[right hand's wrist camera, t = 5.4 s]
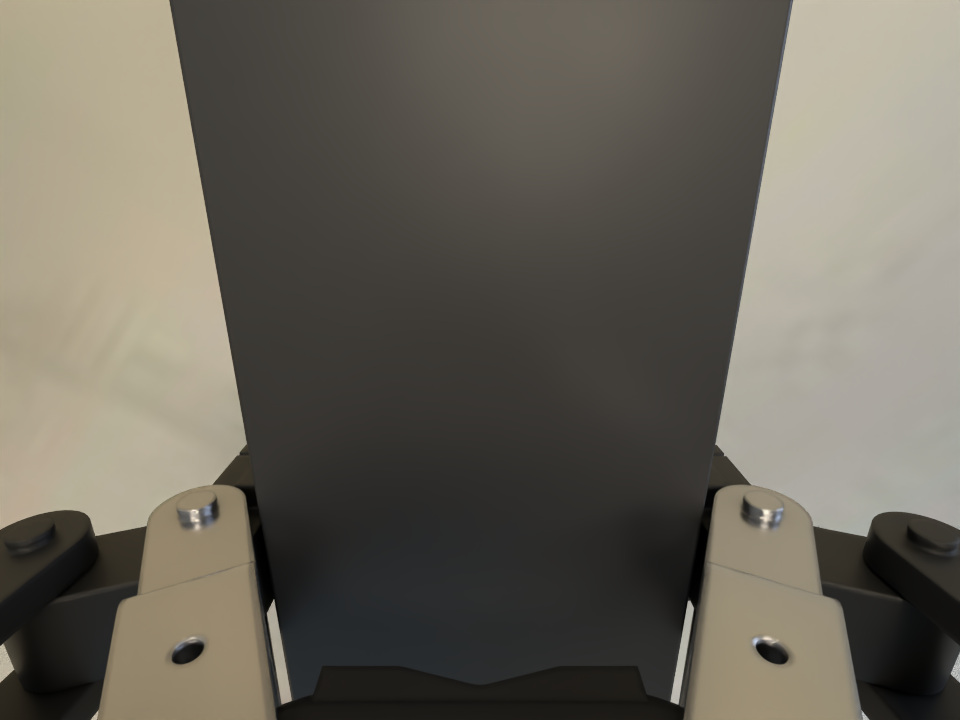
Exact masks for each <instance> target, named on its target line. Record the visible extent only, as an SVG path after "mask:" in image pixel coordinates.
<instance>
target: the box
mask: <svg viewBox="0 0 960 720" xmlns="http://www.w3.org/2000/svg"><path fill="white" fill-rule="evenodd" d="M169 1H170V6H171V12H172V18H173V24H174V29H175V35H176V41H177V46H178V52H179V58H180V63H181V69H182V75H183V81H184V86H185V92H186V98H187V103H188V109H189V115H190V121H191V126H192V132H193V138H194V143H195V149H196V155H197V160H198V166H199V172H200V178H201V183H202V189H203V195H204V200H205V206H206V212H207V218H208V223H209V229H210V235H211V240H212V246H213V252H214V257H215V263H216V269H217V275H218V280H219V286H220V292H221V297H222V303H223V309H224V314H225V320H226V326H227V332H228V337H229V343H230V349H231V354H232V360H233V366H234V372H235V377H236V383H237V389H238V394H239V400H240V406H241V411H242V417H243V423H244V429H245V434H246V440H247V446H248V451H249V457H250V463H251V469H252V474H253V480H254V486H255V491H256V497H257V503H258V508H259V514H260V520H261V526H262V531H263V537H264V543H265V548H266V554H267V560H268V566H269V571H270V577H271V583H272V588H273V594H274V600H275V605H276V611H277V617H278V623H279V628H280V634H281V640H282V645H283V651H284V657H285V663H286V668H287V674H288V680H289V685H290V691H291V697H292V701H294V700H297V699H299V698H302V697H305V696H309V695H313V694H314V691H315V688H316V684H317V681H318V678H319V675H320V672H321V669H322V666H402V667H406V668H410V669H414V670H418V671H422V672H426V673H430V674H434V675H438V676H442V677H446V678H450V679H454V680H458V681H462V682H466V683H470V684H476V685H484V684H490V683H494V682H498V681H502V680H506V679H510V678H514V677H518V676H522V675H526V674H530V673H534V672H538V671H542V670H546V669H550V668H554V667H558V666H638V669H639V672H640V675H641V678H642V681H643V684H644V688H645V691H646V694H647V695H651V696H655V697H658V698H661V699H663V700H666V701H669V702H670V700H671V694H672V688H673V683H674V677H675V671H676V665H677V660H678V654H679V648H680V643H681V637H682V631H683V626H684V620H685V614H686V608H687V603H688V597H689V591H690V586H691V580H692V574H693V568H694V563H695V557H696V551H697V546H698V540H699V534H700V528H701V523H702V517H703V511H704V506H705V500H706V494H707V489H708V483H709V477H710V471H711V466H712V460H713V454H714V449H715V443H716V437H717V431H718V426H719V420H720V414H721V409H722V403H723V397H724V391H725V386H726V380H727V374H728V369H729V363H730V357H731V351H732V346H733V340H734V334H735V329H736V323H737V317H738V312H739V306H740V300H741V294H742V289H743V283H744V277H745V272H746V266H747V260H748V254H749V249H750V243H751V237H752V232H753V226H754V220H755V214H756V209H757V203H758V197H759V192H760V186H761V180H762V175H763V169H764V163H765V157H766V152H767V146H768V140H769V135H770V129H771V123H772V117H773V112H774V106H775V100H776V95H777V89H778V83H779V77H780V72H781V66H782V60H783V55H784V49H785V43H786V37H787V32H788V26H789V20H790V15H791V9H792V3H793V0H169Z"/></svg>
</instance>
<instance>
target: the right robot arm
mask: <svg viewBox="0 0 960 720" xmlns="http://www.w3.org/2000/svg"><path fill="white" fill-rule="evenodd" d="M273 599H274V594H273V588H272V583H271V577H270V571H269V566H268V560H267V554H266V548H265V543H264V537H263V531H262V526H261V520H260V514H259V508H258V503H257V497H256V491H255V486H254V480H253V474H252V469H251V463H250V457H249V451H248V446H247V445H246V446H245V447H244V448H243V449H242V451H241V452H240V455H239V456H236V458H235V459H234V460H233V461H232V462H231V464H230V465H229V466H228V467H227V468H226V469H225V471H224V472H223V473H222V474H221V475H220V477H219V478H218V479H217V480H216V481H215V482H214V484H213V485H208V486H202V487H197V488H194V489H190V490H187V491H184V492H182V493H180V494H177V495H175V496H173V497H171V498H169V499H168V500H166V501H165V502H163V503H162V504H160V505H159V506H158V507H157V508H156V509H155V510H154V511H153V512H152V513H151V515H150V517H149V519H148V523H147V526H145V527H141V528H136V529H131V530H125V531H120V532H115V533H110V534H105V535H99V536H95V534H94V531H93V527H92V524H91V521H90V518H89V517H88V516H87V515H86V514H85V513H82V512H79V511H73V510H63V511H54V512H48V513H43V514H39V515H36V516H32V517H29V518H26V519H23V520H21V521H18V522H16V523H13V524H11V525H9V526H7V527H5V528H3V529H1V530H0V646H1V645H2V644H3V643H4V646H5V648H6V650H7V653H8V655H9V658H10V660H11V662H12V665H13V667H14V670H13V671H12V672H11V673H10V674H9V675H8V676H7V677H6V678H5V679H4V680H3V681H2V682H1V683H0V720H91V718H92V717H93V716H94V715H95V714H96V712H97V711H98V710H99V712H98V717H97V720H863V717H862V712H861V710H862V711H863V712H864V714H865V715H866V716H867V717H868V718H869V720H960V683H959V682H958V681H957V680H956V679H955V678H954V677H953V676H952V675H951V671H952V669H953V667H954V664H955V662H956V660H957V657H958V655H959V653H960V530H958V529H957V528H955V527H952V526H950V525H948V524H945V523H943V522H940V521H938V520H935V519H932V518H928V517H925V516H921V515H917V514H912V513H905V512H886V513H881V514H878V515H877V516H875V517H874V518H873V520H872V523H871V526H870V529H869V532H868V535H867V537H864V536H859V535H854V534H849V533H843V532H838V531H833V530H828V529H823V528H819V527H815V526H813V522H812V519H811V517H810V515H809V513H808V512H807V511H806V510H805V509H804V508H803V507H802V506H801V505H800V504H798V503H797V502H795V501H794V500H792V499H791V498H789V497H787V496H785V495H783V494H780V493H778V492H776V491H773V490H770V489H766V488H763V487H758V486H752V485H751V484H750V483H749V482H748V481H747V480H746V479H745V477H744V476H743V475H742V474H741V473H740V472H739V470H738V469H737V468H736V467H735V466H734V465H733V463H732V462H731V461H730V460H729V459H728V458H727V456H724V453H723V452H722V451H721V450H720V448H719V447H718V446H717V445H715V449H714V454H713V460H712V466H711V471H710V477H709V483H708V489H707V494H706V500H705V506H704V511H703V517H702V523H701V528H700V534H699V540H698V546H697V551H696V557H695V563H694V568H693V574H692V580H691V586H690V591H689V597H688V601H691V603H692V605H693V607H694V612H693V617H692V623H691V629H690V635H689V641H688V648H687V654H686V660H685V667H684V673H683V680H682V686H681V692H680V699H679V705H677V704H675V703H672V702H669V701H666V700H663V699H661V698H658V697H655V696H651V695H647V694H646V691H645V688H644V684H643V681H642V678H641V675H640V672H639V669H638V666H558V667H554V668H550V669H546V670H542V671H538V672H534V673H530V674H526V675H522V676H518V677H514V678H510V679H506V680H502V681H498V682H494V683H490V684H484V685H476V684H470V683H466V682H462V681H458V680H454V679H450V678H446V677H442V676H438V675H434V674H430V673H426V672H422V671H418V670H414V669H410V668H406V667H402V666H322V669H321V672H320V675H319V678H318V681H317V684H316V688H315V691H314V694H313V695H309V696H305V697H302V698H299V699H297V700H294V701H291V702H288V703H285V704H283V705H281V699H280V692H279V686H278V680H277V673H276V667H275V660H274V654H273V648H272V641H271V635H270V629H269V623H268V617H267V612H268V610H269V608H270V606H271V604H272V602H273Z"/></svg>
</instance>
